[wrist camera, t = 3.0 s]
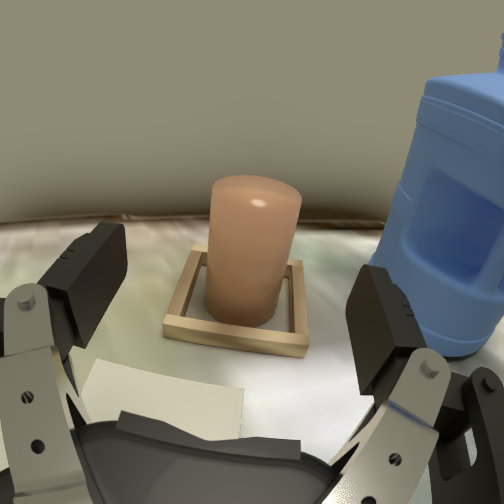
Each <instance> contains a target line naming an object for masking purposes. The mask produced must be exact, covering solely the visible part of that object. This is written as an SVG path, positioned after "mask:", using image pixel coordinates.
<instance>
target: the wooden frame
mask: <svg viewBox="0 0 504 504" xmlns="http://www.w3.org/2000/svg"><path fill="white" fill-rule="evenodd" d="M207 254H208V246H203V245H196V244H194V245H193V248H192V250H191V252H190V255H189V257H188V260H187V262H186V265H185V267H184V270H183V272H182V275H181V277H180V280H179V282H178V285H177V287H176V290H175V292H174V295H173V298H172V300H171V303H170V305H169V308H168V311H167V313H166V316H165V319H164V321H163V332H164V337H167V338H172V339H177V340H182V341H187V342H193V343H199V344H204V345H210V346H216V347H223V348H229V349H236V350H243V351H250V352H257V353H265V354H273V355H281V356H291V357H300V358H304V357H305V354H306V352H307V350H308V347H309V335H308V321H307V309H306V297H305V286H304V275H303V265H302V260H295V259H289V258H288V262H287V266H286V270H285V274H284V277H287V278H289V295H290V333H287V332H279V331H272V330H264V329H257V328H250V327H243V326H236V325H229V324H223V323H217V322H211V321H205V320H199V319H193V318H187V317H184V316H185V313H186V310H187V306H188V303H189V300H190V297H191V294H192V291H193V288H194V285H195V282H196V279H197V276H198V273H199V270H200V267H201V265H207Z"/></svg>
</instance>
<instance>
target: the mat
mask: <svg viewBox="0 0 504 504" xmlns="http://www.w3.org/2000/svg"><path fill="white" fill-rule="evenodd" d="M243 395H244V389H238V388H231V387H225V386H218V385H212V384H206V383H200V382H195V381H189V380H184V379H179V378H174V377H169V376H165V375H160V374H156V373H151V372H147V371H143V370H138V369H134V368H130V367H126V366H123V365H119V364H115V363H111V362H108V361H104V360H101V359H96V361H95V363H94V365H93V368H92V370H91V372H90V374H89V376H88V379H87V381H86V383H85V385H84V388H83V390H82V392H81V396H82V400H83V403H84V406H85V408H86V411H87V413H88V415H89V417H90V419H91V422H92V423H94V422H100V421H110V420H118V418H119V415H120V412H121V410H123V411H126V412H130V413H134V414H137V415H141V416H145V417H149V418H153V419H157V420H161V421H164V422H166V423H168V424H170V425H173V426H175V427H177V428H179V429H181V430H183V431H186V432H188V433H190V434H192V435H195V436H197V437H199V438H202V439H204V440H209V441H216V440H229V439H239V432H240V423H241V414H242V404H243Z"/></svg>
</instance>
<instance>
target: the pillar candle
mask: <svg viewBox="0 0 504 504" xmlns="http://www.w3.org/2000/svg"><path fill="white" fill-rule="evenodd" d="M301 201H302V199H301V195H300V194H299V193H298V192H297V191H296V190H295V189H294V188H292V187H291V186H289V185H287V184H285V183H283V182H280V181H278V180H274V179H271V178H266V177H261V176H253V175H235V176H229V177H225V178H222V179H220V180H218V181H217V182H215V183H214V185H213V187H212V199H211V212H210V225H209V239H208V254H207V271H206V289H205V305H206V308H207V310H208V311H209V313H210V314H211V315H212V316H213V317H214V318H215V319H216V320H218V321H219V322H221V323H223V324H229V325H236V326H243V327H250V328H253V327H257V326H260V325H262V324H264V323H266V322H267V321H269V320H270V319H271V318H272V316H273V315H274V313H275V310H276V306H277V302H278V298H279V294H280V290H281V286H282V282H283V278H284V274H285V270H286V266H287V262H288V258H289V254H290V249H291V245H292V241H293V237H294V232H295V228H296V224H297V219H298V215H299V211H300V206H301Z"/></svg>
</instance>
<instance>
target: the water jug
mask: <svg viewBox="0 0 504 504" xmlns="http://www.w3.org/2000/svg"><path fill="white" fill-rule="evenodd" d="M501 38H502V40H503V43H502V48H501V49H500V53H499V56H500V59H499V66H498V68H497V70H496V71H495V72H493V73H481V74H464V75H452V76H442V77H433V78H430V79H429V80H428V81H427V82H426V85H425V90H424V95H423V96H422V98H421V101H420V105H419V109H418V113H417V119H416V122H417V124H416V128H415V132H414V136H413V139H412V143H411V146H410V150H409V153H408V157H407V160H406V164H405V167H404V170H403V174H402V177H401V179H400V180H399V182H398V185H397V187H396V190H395V193H394V196H393V200H392V204H391V212H390V214H389V217H388V220H387V223H386V225H385V228H384V231H383V234H382V236H381V239H380V242H379V244H378V247H377V249H376V252H375V253H374V254H373V256H372V258H371V260H370V262H369V264H368V265H372V266H378V267H384V268H386V269H387V271H388V274H389V276H390V278H391V280H392V283H393V284H397V286H398V287H399V288H400V289H401V290H402V291H403V292H404V293H405V294H406V296H407V299H408V301H409V303H410V305H411V307H410V308H412V310H413V313H414V315H415V316H414V317H415V318H416V320H417V322H418V325H419V327H420V329H421V332H422V334H423V337H424V340H425V342H426V345H427V347H428V349H432V350H434V351H436V352H438V353H439V354H440V355H441V356H446V357H461V356H466V355H469V354H472V353H474V352H476V351H477V350H479V349H480V348H481V347H482V346H483V345H484V344H485V343H486V341H487V340H488V339H489V337H490V336H491V335H492V333H493V332H494V330H495V327H496V325H497V324H498V323H499V321H500V320H501V318H502V317H503V315H504V33H502V36H501Z"/></svg>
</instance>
